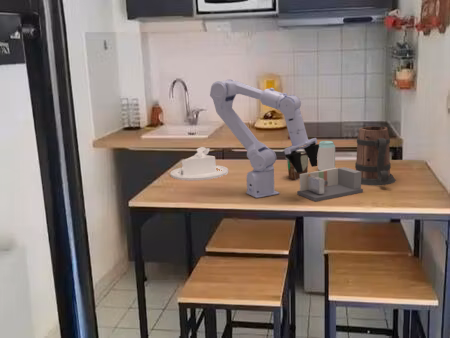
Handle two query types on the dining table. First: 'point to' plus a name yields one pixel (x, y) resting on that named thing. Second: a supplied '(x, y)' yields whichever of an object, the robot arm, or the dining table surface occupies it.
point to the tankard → (374, 156)
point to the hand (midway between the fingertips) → (307, 169)
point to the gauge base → (332, 183)
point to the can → (326, 155)
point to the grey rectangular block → (316, 184)
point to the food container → (291, 170)
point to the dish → (199, 167)
